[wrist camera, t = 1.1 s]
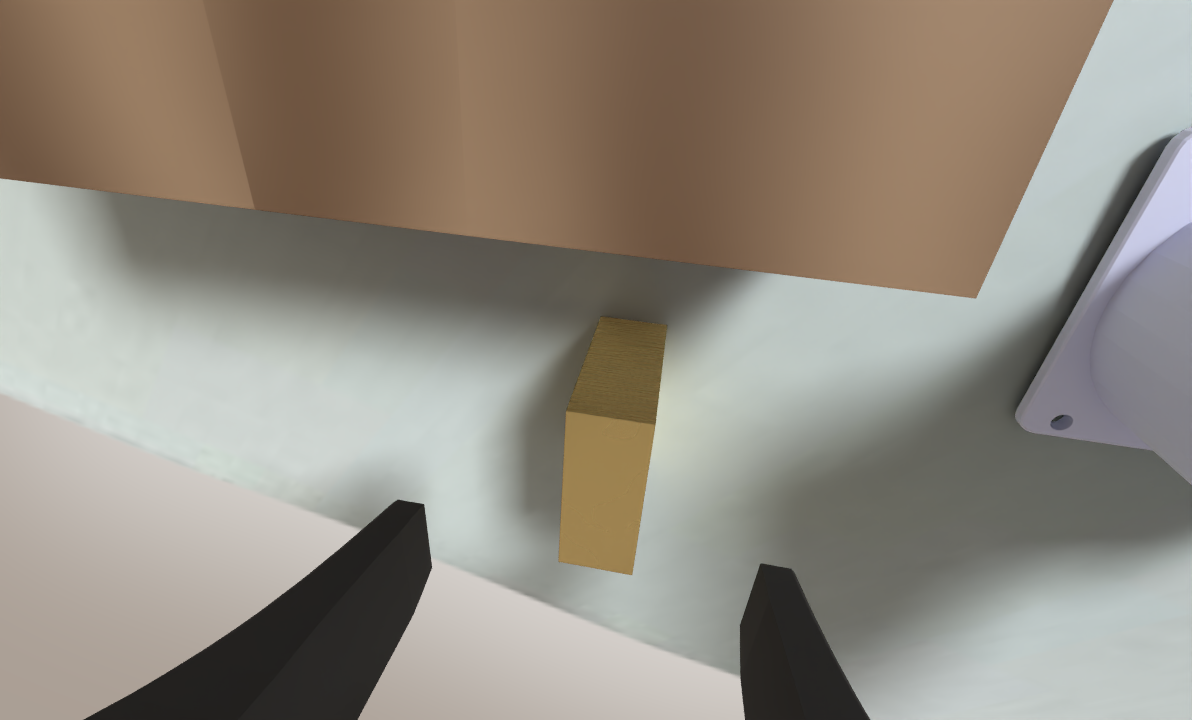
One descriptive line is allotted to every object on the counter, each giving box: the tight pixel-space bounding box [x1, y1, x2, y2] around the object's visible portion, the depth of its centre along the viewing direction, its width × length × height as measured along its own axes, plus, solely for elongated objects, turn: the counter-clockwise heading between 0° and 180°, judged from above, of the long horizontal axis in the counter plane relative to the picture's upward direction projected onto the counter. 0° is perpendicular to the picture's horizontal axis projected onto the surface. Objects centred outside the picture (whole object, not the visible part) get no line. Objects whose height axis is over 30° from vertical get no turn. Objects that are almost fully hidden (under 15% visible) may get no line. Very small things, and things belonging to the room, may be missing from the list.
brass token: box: [559, 316, 667, 575], centre depth 15 cm, size 2×5×5 cm, turn 176°
